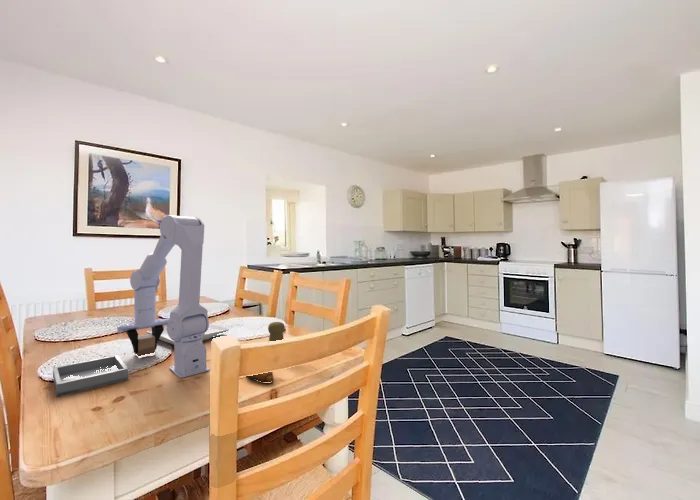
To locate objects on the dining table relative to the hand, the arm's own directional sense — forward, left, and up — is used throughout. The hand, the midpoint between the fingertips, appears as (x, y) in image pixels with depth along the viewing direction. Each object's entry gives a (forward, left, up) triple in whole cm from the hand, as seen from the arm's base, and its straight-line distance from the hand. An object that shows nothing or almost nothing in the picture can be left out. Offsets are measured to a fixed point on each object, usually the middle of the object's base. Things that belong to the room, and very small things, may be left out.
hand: (145, 350), depth 104 cm
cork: (-29, -30, -2) cm, 42 cm away
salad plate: (+11, -17, -2) cm, 20 cm away
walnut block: (0, 0, -1) cm, 1 cm away
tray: (-11, +15, -1) cm, 19 cm away
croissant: (-39, -18, -2) cm, 43 cm away
